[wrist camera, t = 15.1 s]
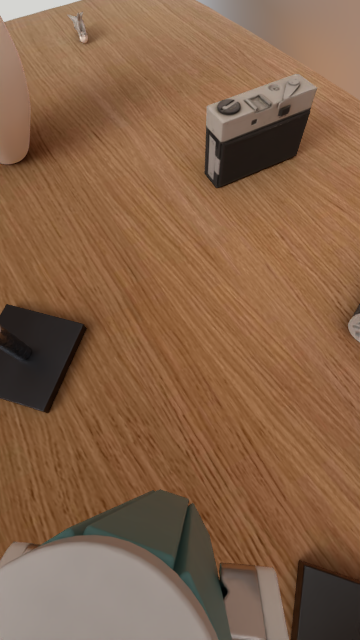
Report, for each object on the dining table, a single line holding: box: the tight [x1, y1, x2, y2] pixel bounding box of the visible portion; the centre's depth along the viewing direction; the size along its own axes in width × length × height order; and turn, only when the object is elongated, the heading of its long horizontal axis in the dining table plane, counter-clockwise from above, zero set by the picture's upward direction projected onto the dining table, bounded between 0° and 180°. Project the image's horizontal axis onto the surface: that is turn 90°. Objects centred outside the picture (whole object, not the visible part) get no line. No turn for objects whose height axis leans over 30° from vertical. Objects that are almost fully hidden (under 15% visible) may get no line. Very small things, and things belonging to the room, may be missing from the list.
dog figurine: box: [68, 12, 88, 43], centre depth 63 cm, size 3×8×6 cm
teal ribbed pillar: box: [0, 490, 232, 640], centre depth 9 cm, size 4×4×12 cm
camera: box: [205, 74, 317, 188], centre depth 43 cm, size 14×8×10 cm, turn 117°
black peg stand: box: [0, 304, 87, 413], centre depth 32 cm, size 10×10×7 cm
